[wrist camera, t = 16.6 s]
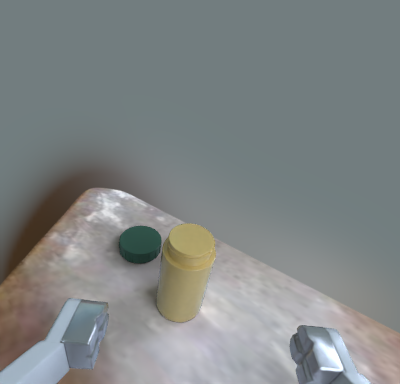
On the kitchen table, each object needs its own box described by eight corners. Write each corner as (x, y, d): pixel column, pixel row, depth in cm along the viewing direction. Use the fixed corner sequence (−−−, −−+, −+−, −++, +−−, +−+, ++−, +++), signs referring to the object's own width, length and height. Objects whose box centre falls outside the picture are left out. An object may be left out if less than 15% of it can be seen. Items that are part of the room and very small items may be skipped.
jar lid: (167, 243, 39) (168, 234, 38) (146, 270, 34) (147, 260, 33) (134, 229, 40) (135, 220, 39) (110, 253, 35) (110, 243, 34)
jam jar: (151, 319, 28) (159, 254, 22) (159, 278, 33) (167, 217, 27) (201, 325, 28) (220, 263, 23) (201, 283, 33) (217, 224, 28)
